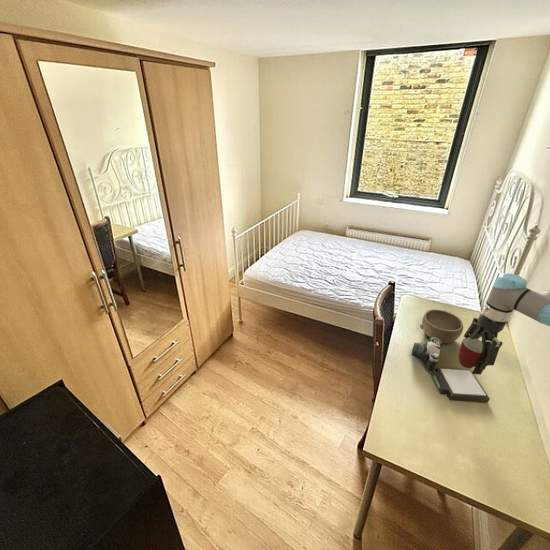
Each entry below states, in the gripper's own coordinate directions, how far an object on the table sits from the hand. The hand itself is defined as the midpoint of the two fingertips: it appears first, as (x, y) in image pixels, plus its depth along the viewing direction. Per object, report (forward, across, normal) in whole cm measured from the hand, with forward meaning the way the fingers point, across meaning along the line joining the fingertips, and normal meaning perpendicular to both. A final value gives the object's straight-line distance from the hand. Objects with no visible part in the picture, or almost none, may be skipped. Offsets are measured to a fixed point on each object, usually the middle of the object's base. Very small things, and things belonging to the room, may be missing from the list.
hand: (470, 364), depth 110 cm
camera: (+13, -14, -9) cm, 21 cm away
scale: (+13, 0, -1) cm, 13 cm away
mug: (+1, 0, 0) cm, 1 cm away
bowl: (+13, -31, +4) cm, 34 cm away
